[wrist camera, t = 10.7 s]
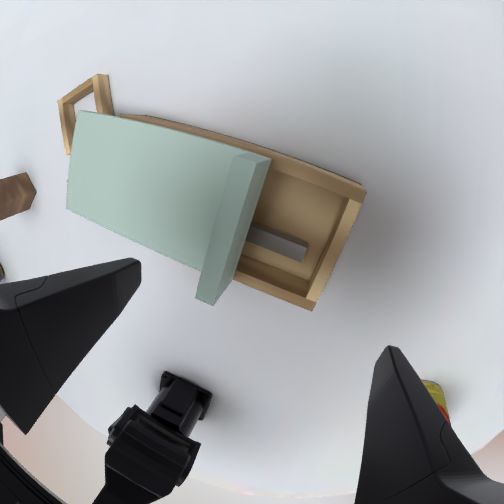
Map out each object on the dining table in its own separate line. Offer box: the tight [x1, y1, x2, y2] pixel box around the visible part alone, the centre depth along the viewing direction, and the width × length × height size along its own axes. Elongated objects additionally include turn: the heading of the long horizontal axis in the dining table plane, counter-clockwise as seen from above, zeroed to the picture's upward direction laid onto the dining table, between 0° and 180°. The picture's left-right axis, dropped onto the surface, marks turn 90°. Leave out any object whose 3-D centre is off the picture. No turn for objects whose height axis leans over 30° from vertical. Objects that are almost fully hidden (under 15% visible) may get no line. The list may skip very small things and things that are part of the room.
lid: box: [66, 111, 272, 306], centre depth 18 cm, size 9×16×4 cm, turn 72°
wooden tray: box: [120, 114, 366, 311], centre depth 21 cm, size 9×18×4 cm, turn 72°
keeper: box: [58, 74, 114, 155], centre depth 22 cm, size 6×6×2 cm
